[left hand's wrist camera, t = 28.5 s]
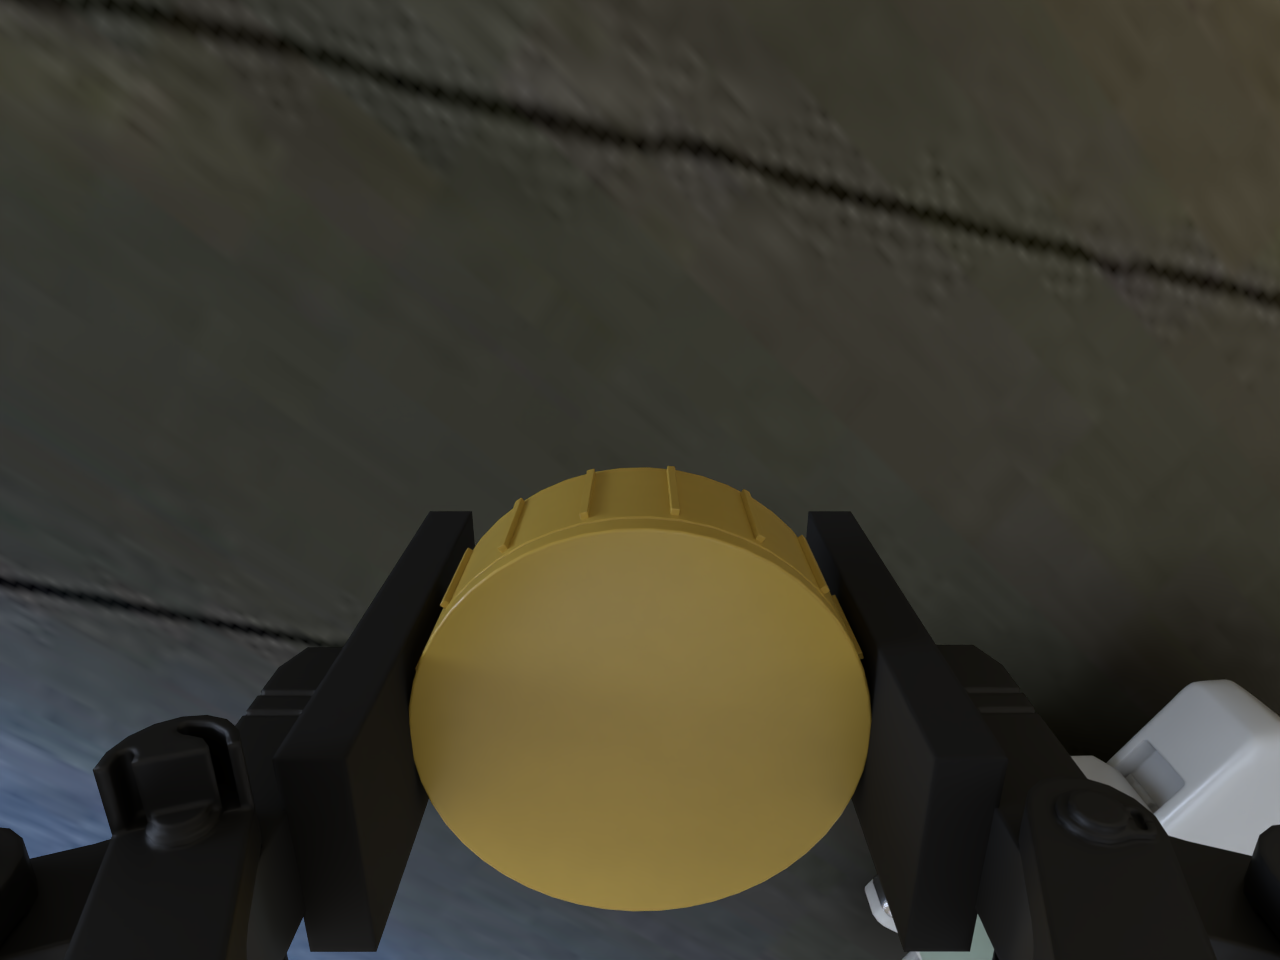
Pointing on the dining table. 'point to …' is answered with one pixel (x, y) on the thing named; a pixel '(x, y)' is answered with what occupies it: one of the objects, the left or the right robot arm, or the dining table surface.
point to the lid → (640, 694)
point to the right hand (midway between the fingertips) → (936, 831)
